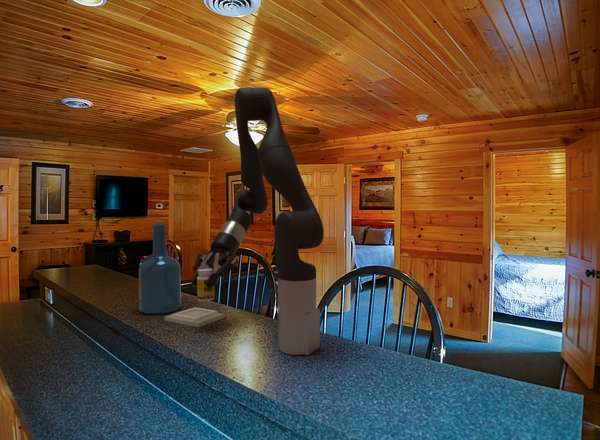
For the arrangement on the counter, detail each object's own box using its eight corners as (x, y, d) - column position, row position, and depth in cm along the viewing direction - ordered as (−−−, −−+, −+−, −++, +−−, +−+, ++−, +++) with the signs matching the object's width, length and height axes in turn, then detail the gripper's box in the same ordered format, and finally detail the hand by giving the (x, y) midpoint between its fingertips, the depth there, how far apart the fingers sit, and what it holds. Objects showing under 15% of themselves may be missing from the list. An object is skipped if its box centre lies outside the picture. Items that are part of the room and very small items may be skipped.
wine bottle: (163, 303, 139) (162, 220, 138) (189, 308, 132) (188, 220, 131) (129, 312, 127) (127, 221, 126) (156, 318, 120) (154, 221, 119)
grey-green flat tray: (224, 317, 120) (224, 311, 120) (198, 327, 110) (198, 320, 110) (191, 312, 127) (191, 305, 127) (164, 320, 117) (164, 313, 117)
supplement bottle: (204, 302, 105) (203, 271, 105) (193, 300, 108) (192, 270, 108) (218, 298, 109) (217, 269, 109) (207, 296, 112) (206, 267, 111)
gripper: (204, 230, 118) (174, 276, 108) (241, 231, 111) (213, 279, 100) (217, 246, 123) (189, 291, 112) (253, 248, 115) (227, 296, 105)
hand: (200, 285), depth 106 cm, fingers closed on supplement bottle, 4 cm apart
